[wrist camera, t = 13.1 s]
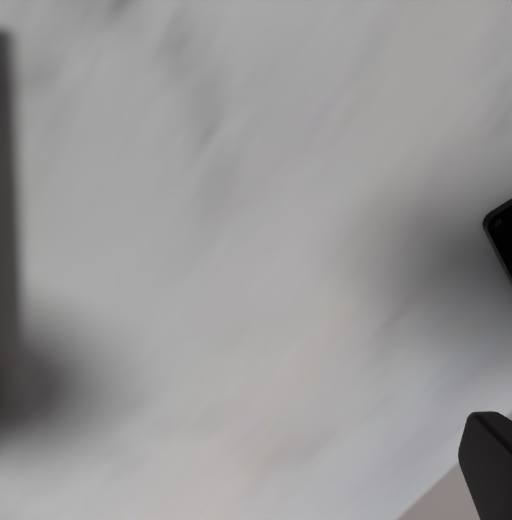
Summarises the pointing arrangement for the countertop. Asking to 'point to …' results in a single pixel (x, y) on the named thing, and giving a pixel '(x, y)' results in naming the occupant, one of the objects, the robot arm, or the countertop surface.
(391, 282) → the countertop surface
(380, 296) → the countertop surface
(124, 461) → the countertop surface
